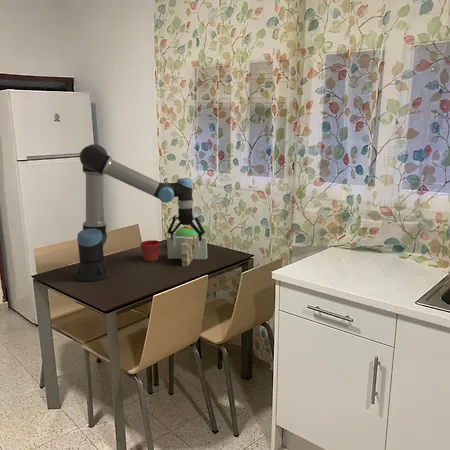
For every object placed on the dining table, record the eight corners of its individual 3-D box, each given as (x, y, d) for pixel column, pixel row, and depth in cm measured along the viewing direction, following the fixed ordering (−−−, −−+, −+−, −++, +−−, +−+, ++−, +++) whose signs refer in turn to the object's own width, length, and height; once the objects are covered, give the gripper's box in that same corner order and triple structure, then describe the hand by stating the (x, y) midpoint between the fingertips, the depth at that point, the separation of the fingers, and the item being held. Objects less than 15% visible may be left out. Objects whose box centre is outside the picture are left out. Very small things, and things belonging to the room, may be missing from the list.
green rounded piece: (169, 249, 274) (168, 225, 270) (187, 243, 287) (186, 220, 284) (192, 254, 263) (191, 229, 260) (210, 247, 277) (209, 223, 273)
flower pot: (137, 259, 256) (136, 242, 254) (154, 255, 263) (153, 239, 261) (148, 263, 248) (146, 246, 246) (164, 259, 255) (163, 242, 253)
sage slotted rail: (167, 258, 257) (166, 237, 254) (169, 256, 260) (168, 236, 257) (206, 259, 253) (205, 238, 250) (207, 257, 256) (206, 237, 253)
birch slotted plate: (190, 255, 262) (189, 234, 259) (195, 255, 261) (195, 234, 259) (182, 265, 243) (181, 244, 240) (187, 266, 242) (186, 244, 239)
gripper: (160, 208, 240) (162, 247, 245) (207, 209, 236) (207, 249, 241) (164, 205, 247) (166, 243, 252) (209, 206, 243) (210, 245, 248)
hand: (186, 246), depth 246 cm, fingers open, 13 cm apart
